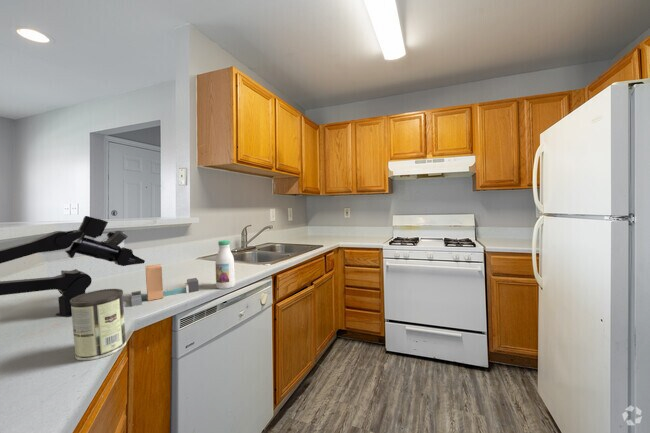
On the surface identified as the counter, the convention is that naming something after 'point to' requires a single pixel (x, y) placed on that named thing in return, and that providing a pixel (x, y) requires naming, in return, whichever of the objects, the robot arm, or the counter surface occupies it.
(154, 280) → the sleeve
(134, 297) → the cable comb run
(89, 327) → the coffee can
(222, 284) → the milk bottle
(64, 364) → the counter surface
